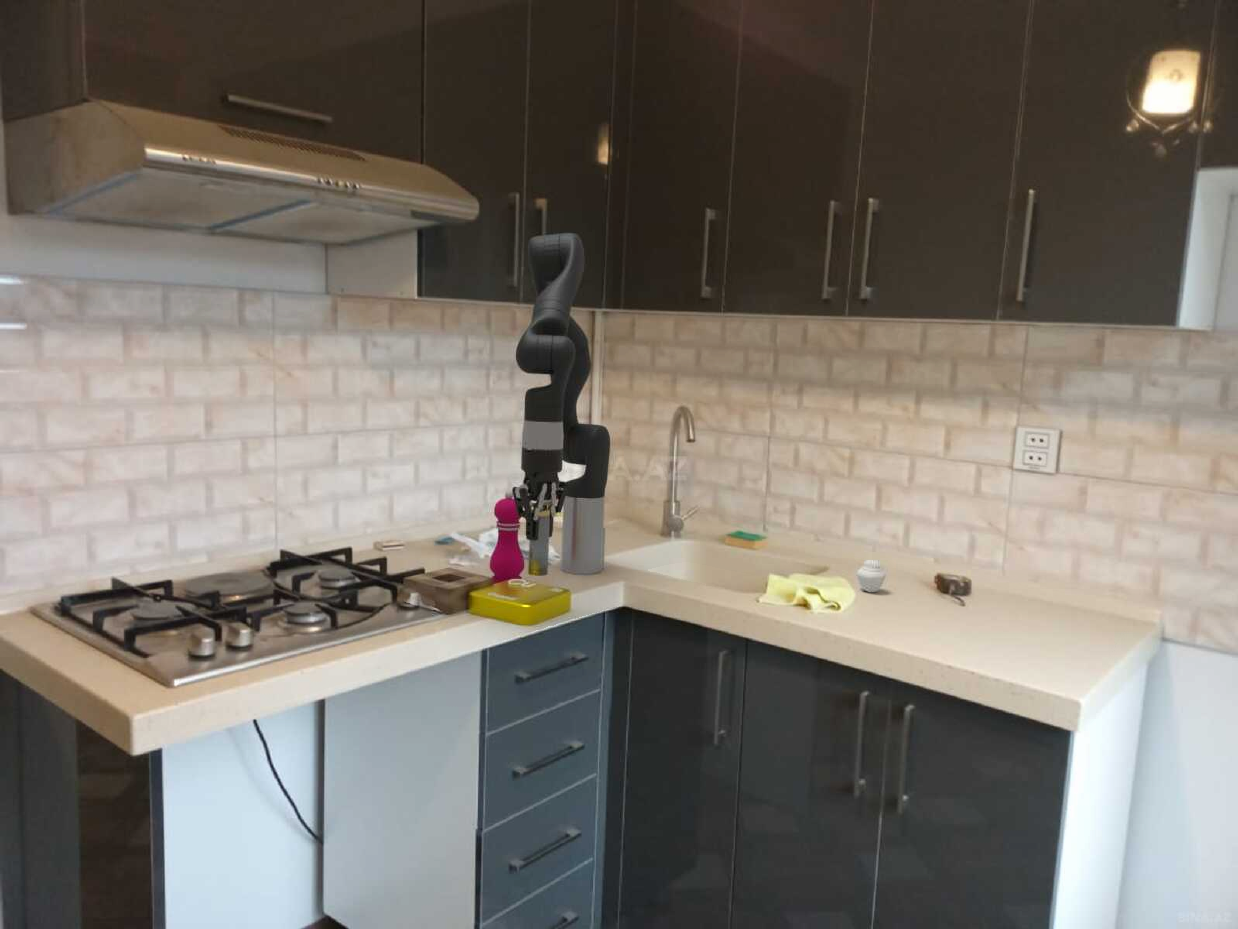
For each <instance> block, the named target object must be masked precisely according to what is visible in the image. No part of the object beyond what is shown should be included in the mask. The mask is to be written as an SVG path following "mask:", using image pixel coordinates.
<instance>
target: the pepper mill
mask: <svg viewBox="0 0 1238 929" xmlns="http://www.w3.org/2000/svg"><path fill="white" fill-rule="evenodd" d="M493 514H494V516H495V518H496V519H497V520H496V525H495V528H496V529H497V534H498V536H497V540H496V545H495V548H494V550H493V551H492V554H491V556H490V560H489V569H490V571H491V572H492V573H493V575H492V576H491V578H493V584H496V583H500V582H503V581H506V580H509V579H522V576H521V573H522V572H523V571H524V569H525V559H524V554H523V552H522V550H521V547H520V544H519V530H520V529H521V522H520V519H521V518H522V517H519V516H518V514H517V510H516V505H515V501H514V497H513V493H512V490H507V491H506V492H505V493H504V498H501V499H500V500H498V501H497V502H496V503H495V506H494V508H493ZM522 580H523V579H522Z"/></svg>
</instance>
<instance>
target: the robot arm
mask: <svg viewBox="0 0 1238 929" xmlns="http://www.w3.org/2000/svg"><path fill="white" fill-rule="evenodd" d="M527 244H528V245H527V254H528V255H527V256H528V264H529V268H530V273H531V276H532V283H533V286H534V290H535V295H536V300H535V303H534V304H533V305H534V306H533V308H532V309H533V310H532V316H531V322H530V324H529V325H528V326H527V328H526V330H524V332H523V334H522V336H521V337H520V339H519V341H518V344H517V345H516V346H517V347H516V348H515V360H516V364H517V367H519V369H520V370H521V371H522V372H524V373H527V374H531V375H532V374H533V375H549V378H550V383H549V384H547V385H543V386H536V387H532V388H529V389H527V390H526V392H525V394H524V412H523V413H524V416H523V427H522V435H521V436H522V437H521V455H520V456H521V457H520V458H521V460H520V461H521V462H520V464H521V465H520V467H521V468H520V469H521V470H522V471H523V472H524V478H523V479H522V484H521V485H520V486H519V485H518V486H513V487H512V489H511V492H512V493H513V499H514V501H515V505H516V510H517V514H518V516H519V517H521V518H523V519H525V536H526V539H527V540H528V541H529V540H532V541H535V540H537V539H538V523H539V521H538V516H539V511H540V508H547V509H550V526H549V538H552V537H553V533H554V532H553V531H554V518H555V517H556V514H559V513H561V512H562V528H561V529H562V530H561V531H562V532H561V533H562V534H561V552H560V553H561V554H560V555H561V557H560V558H561V559H560V562H561V563H560V570H561V571H562V572H564V573H567V574H571V575H579V576H580V575H584V576H585V575H594V574H599V573H601V572H602V570H603V569H605V568H604V567H605V544H606V542H605V541H606V528H605V527H604V526H605V525H604V524H605V522H604V521H605V502H606V500H605V498H606V497H605V495H606V486H607V483H608V475H609V474H608V473H609V464H610V463H609V461H610V455H611V454H610V452H611V437H610V436H611V435H610V432H609V431H608V428H607V427H606V426H604V425H601V424H594V423H593V424H592V423H581V422H579V420H578V419H579V418H578V414H577V404H578V401H579V400H578V399H579V397H580V395H581V392H582V390H583V389H584V387H585V385H586V383H587V381H588V378H589V376H590V374H591V371H592V370H591V369H592V362H591V355H590V354H591V352H590V346H589V341H588V337H587V335H586V334H585V332H584V330H583V329H582V327H581V326H580V325H579V324H578V323H577V321H576V320H575V319H574V318H573V316H572V315H571V309H572V305H573V302H574V299H575V297H576V295H577V294H576V293H577V291H578V289H579V285H580V283H581V281H582V277H583V274H584V271H585V270H584V269H585V264H586V263H585V251H584V246H583V241H582V240H581V238H580V236H579V235H578V234H577V233H573V232H563V233H554V234H552V233H551V234H547V235H545V234H544V235H537V236H533V237H531V238H530V239H529V241H528V243H527ZM563 462H565V463H567V464H571V465H579V466H585V469H584V472H583V474H582V475H581V476H580V477H577V478H573V479H569V480H567V481H562V480H560V477H559V473H561V471H563ZM532 508H534V510H533V513H532V511H531V509H532Z"/></svg>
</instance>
